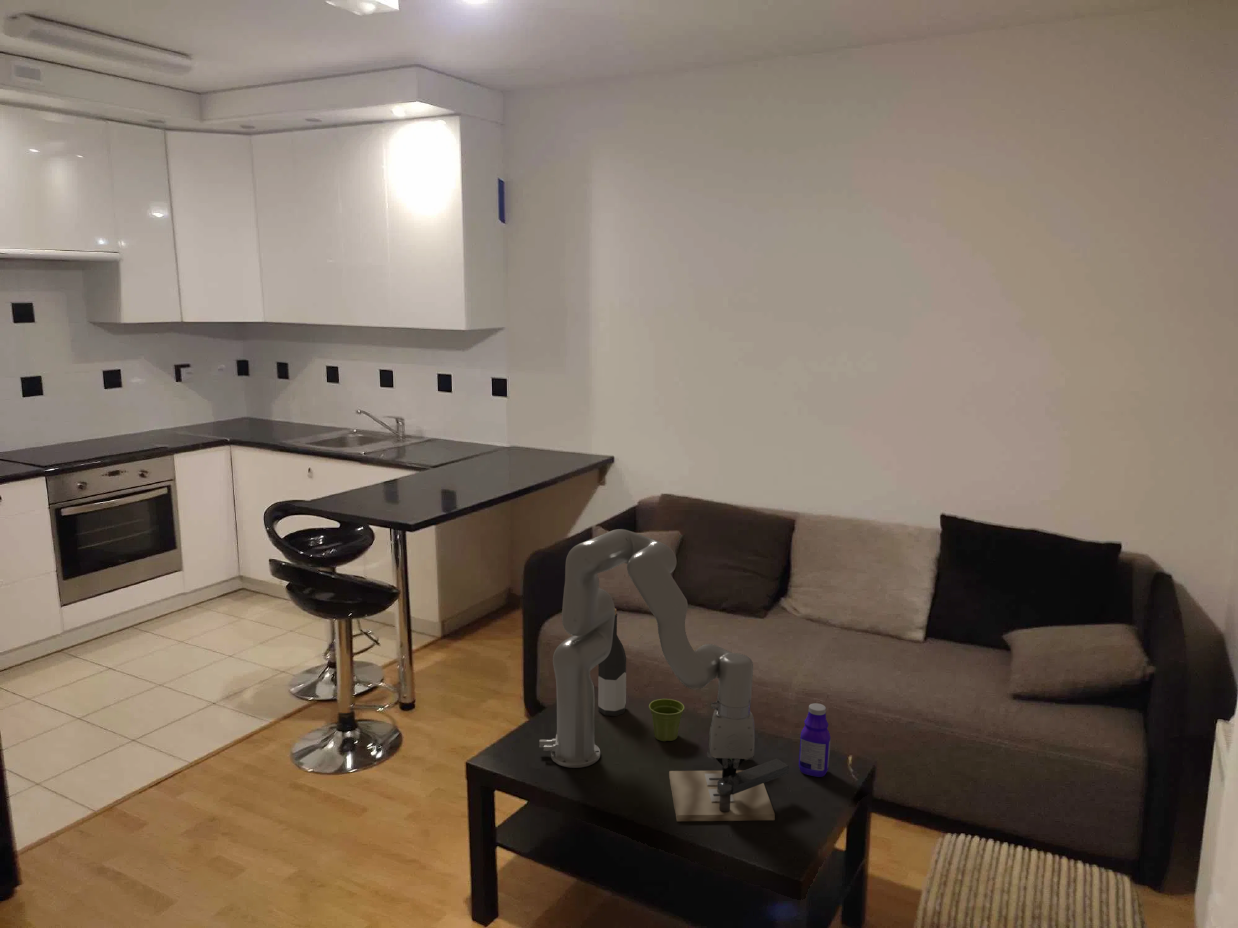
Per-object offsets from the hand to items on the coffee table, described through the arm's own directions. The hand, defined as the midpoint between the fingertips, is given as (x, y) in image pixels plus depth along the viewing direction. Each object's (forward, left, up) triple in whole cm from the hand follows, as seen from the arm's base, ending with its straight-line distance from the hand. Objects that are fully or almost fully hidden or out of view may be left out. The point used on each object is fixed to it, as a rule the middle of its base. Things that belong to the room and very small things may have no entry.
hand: (728, 780), depth 206 cm
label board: (-2, +2, -5) cm, 6 cm away
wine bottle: (-26, +48, -5) cm, 54 cm away
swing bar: (+5, -2, +1) cm, 5 cm away
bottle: (+23, +13, -5) cm, 27 cm away
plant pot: (-12, +32, -5) cm, 34 cm away
